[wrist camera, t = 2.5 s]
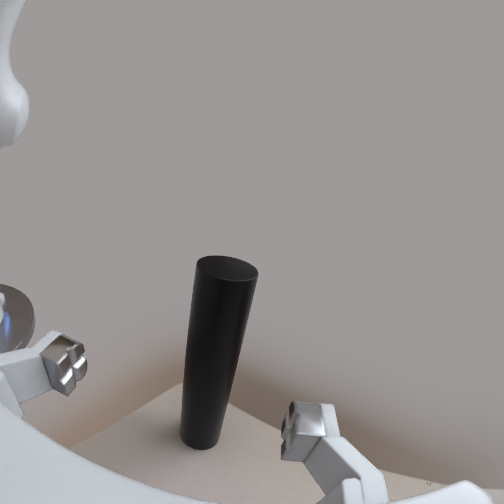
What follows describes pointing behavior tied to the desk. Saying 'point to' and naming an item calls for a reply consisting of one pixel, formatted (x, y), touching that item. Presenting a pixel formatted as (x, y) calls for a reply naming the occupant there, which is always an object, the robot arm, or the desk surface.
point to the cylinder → (214, 344)
